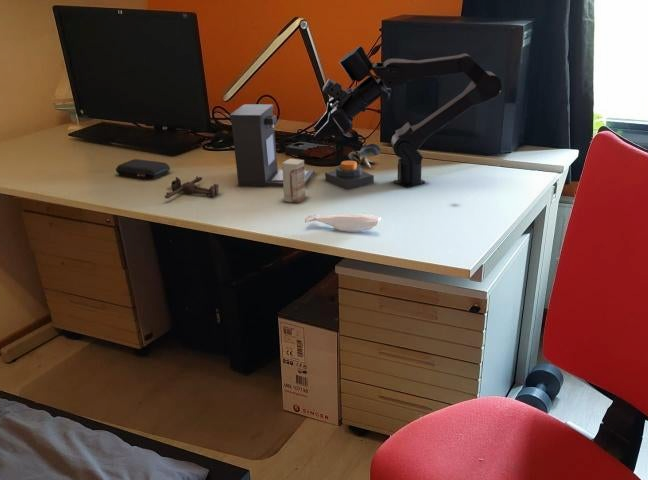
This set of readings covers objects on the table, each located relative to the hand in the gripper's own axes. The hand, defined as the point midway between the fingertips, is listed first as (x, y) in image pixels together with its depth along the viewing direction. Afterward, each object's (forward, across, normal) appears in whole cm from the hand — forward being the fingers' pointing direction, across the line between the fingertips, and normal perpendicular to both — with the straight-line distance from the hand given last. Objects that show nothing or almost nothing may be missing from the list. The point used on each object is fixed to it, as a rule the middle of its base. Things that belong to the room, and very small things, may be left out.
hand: (314, 133), depth 190 cm
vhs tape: (+10, -36, +11) cm, 39 cm away
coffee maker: (+18, -9, +5) cm, 20 cm away
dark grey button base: (+1, -4, +17) cm, 17 cm away
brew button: (-1, -4, +14) cm, 15 cm away
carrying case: (+51, -20, -18) cm, 57 cm away
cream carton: (+13, +10, +9) cm, 19 cm away
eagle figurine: (-4, -18, +20) cm, 27 cm away
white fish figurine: (+4, +34, +15) cm, 37 cm away
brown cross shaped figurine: (+36, +1, -7) cm, 37 cm away
